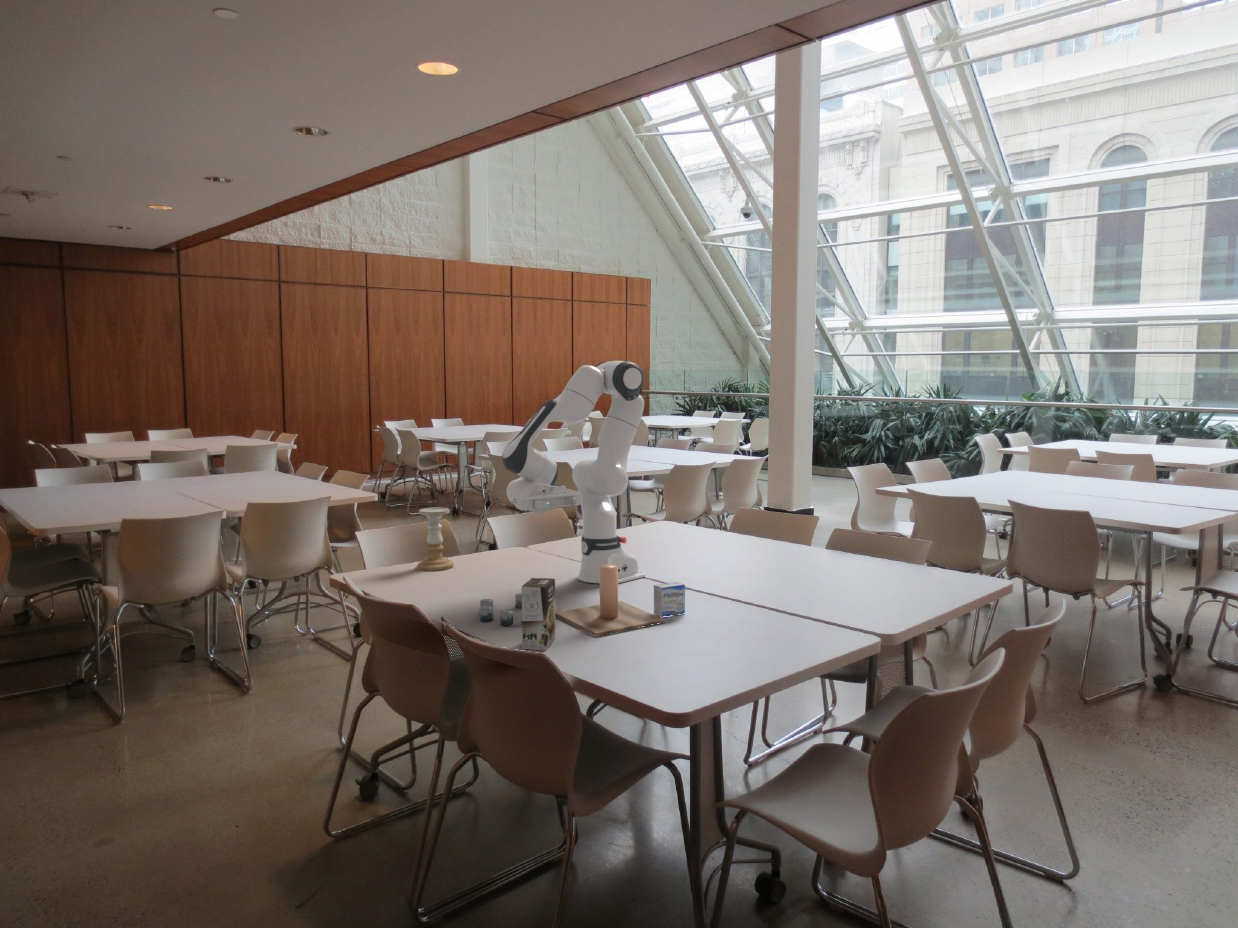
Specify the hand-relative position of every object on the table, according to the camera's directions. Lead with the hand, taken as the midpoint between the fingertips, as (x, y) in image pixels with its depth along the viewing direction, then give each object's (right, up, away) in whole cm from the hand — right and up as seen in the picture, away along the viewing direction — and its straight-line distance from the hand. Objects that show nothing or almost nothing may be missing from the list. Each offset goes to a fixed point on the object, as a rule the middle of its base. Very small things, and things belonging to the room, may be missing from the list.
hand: (561, 504), depth 245 cm
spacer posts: (-13, -31, -6) cm, 34 cm away
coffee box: (-3, -34, -31) cm, 46 cm away
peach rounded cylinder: (+14, -30, -10) cm, 35 cm away
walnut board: (+14, -31, -10) cm, 36 cm away
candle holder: (-47, -24, +51) cm, 74 cm away
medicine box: (+31, -31, -5) cm, 44 cm away
